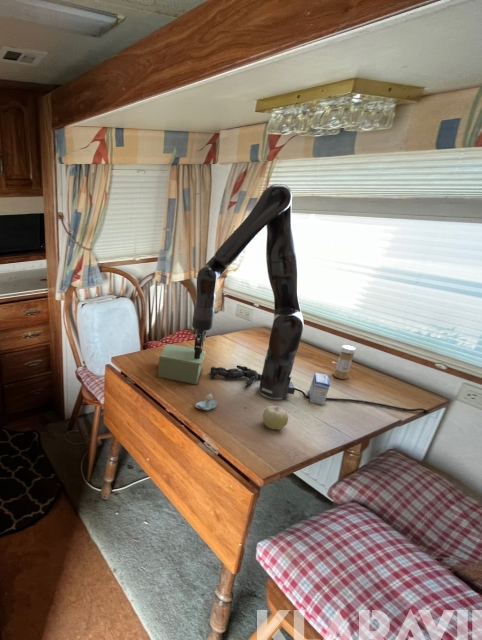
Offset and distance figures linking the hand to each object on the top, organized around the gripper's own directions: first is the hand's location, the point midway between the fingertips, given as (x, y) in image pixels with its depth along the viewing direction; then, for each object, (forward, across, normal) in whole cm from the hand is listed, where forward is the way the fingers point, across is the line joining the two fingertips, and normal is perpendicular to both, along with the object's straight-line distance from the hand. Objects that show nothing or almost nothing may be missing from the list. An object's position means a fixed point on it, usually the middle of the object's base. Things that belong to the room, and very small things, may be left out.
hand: (198, 355), depth 145 cm
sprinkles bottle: (+10, +24, -55) cm, 60 cm away
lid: (+1, 0, +6) cm, 6 cm away
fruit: (+10, -24, -29) cm, 39 cm away
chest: (+10, 0, +6) cm, 12 cm away
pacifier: (+10, -22, -7) cm, 25 cm away
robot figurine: (+10, +5, -16) cm, 19 cm away
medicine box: (+10, +1, -44) cm, 45 cm away
